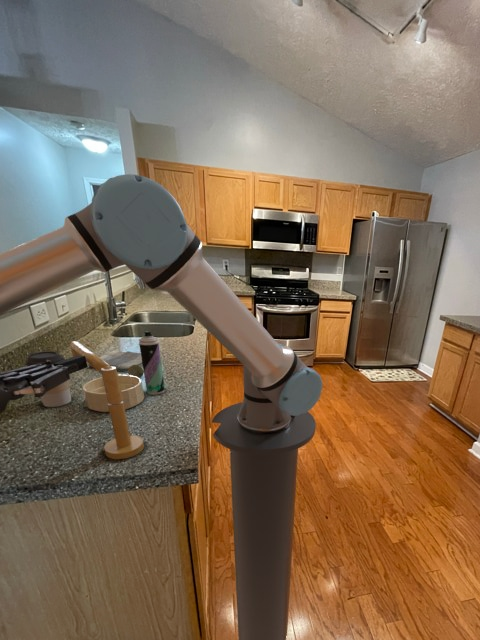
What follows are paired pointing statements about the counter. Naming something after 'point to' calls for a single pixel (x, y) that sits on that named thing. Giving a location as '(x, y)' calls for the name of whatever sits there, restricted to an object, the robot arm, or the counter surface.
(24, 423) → the counter surface
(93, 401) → the cream bowl
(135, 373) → the lime
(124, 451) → the base
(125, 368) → the dish towel
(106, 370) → the faucet spout
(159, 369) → the spray can
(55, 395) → the coffee cup
